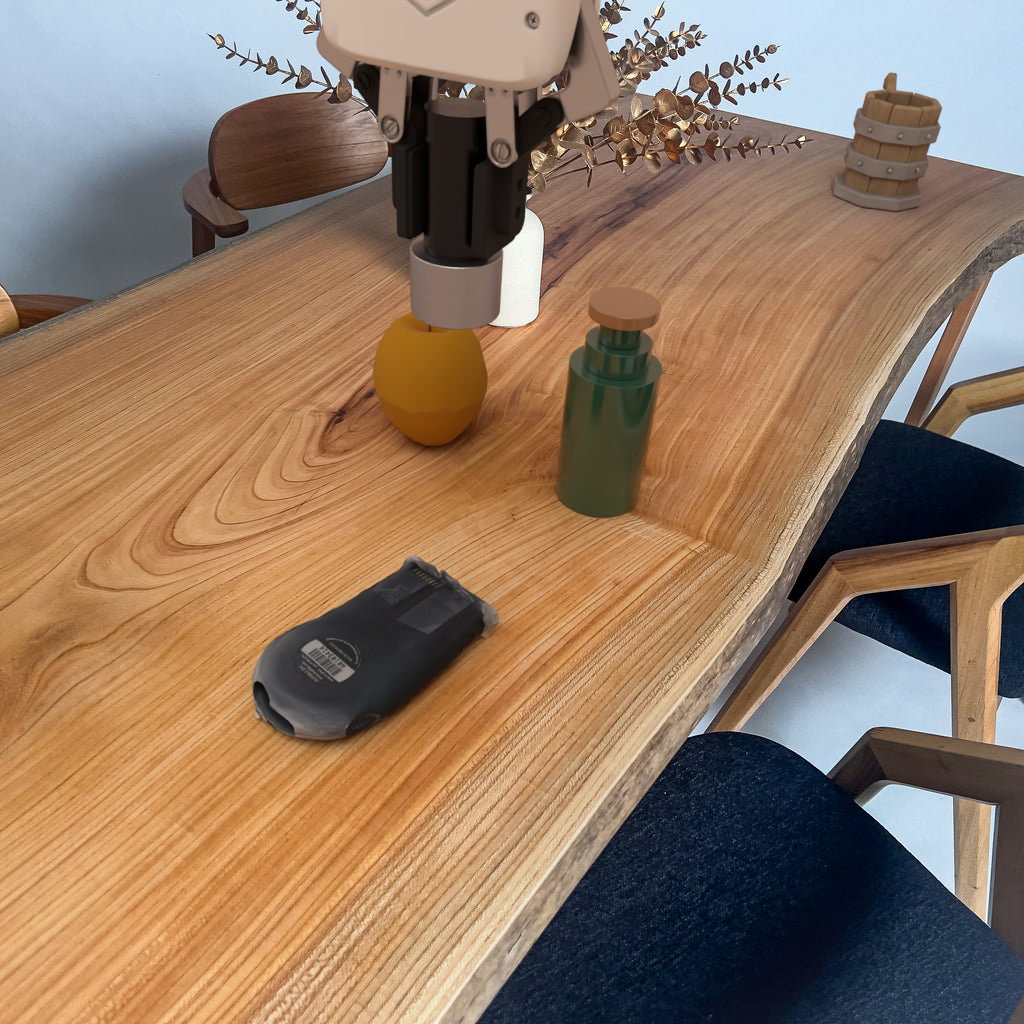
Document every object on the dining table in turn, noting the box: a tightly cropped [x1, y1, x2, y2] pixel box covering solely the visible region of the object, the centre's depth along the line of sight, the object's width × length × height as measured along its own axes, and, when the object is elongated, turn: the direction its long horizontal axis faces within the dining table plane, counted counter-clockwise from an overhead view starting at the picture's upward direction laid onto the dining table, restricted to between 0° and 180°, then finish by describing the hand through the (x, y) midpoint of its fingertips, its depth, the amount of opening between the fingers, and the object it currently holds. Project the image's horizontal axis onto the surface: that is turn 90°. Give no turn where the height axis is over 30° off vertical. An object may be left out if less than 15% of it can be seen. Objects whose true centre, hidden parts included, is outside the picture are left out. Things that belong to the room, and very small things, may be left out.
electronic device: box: [251, 554, 500, 741], centre depth 58 cm, size 9×6×15 cm
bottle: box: [554, 286, 663, 518], centre depth 70 cm, size 7×7×17 cm
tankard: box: [831, 71, 943, 212], centre depth 137 cm, size 20×13×15 cm, turn 167°
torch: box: [409, 96, 504, 330], centre depth 40 cm, size 4×4×9 cm
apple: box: [371, 311, 489, 447], centre depth 77 cm, size 10×10×12 cm
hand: (457, 234), depth 40 cm, fingers closed on torch, 3 cm apart
